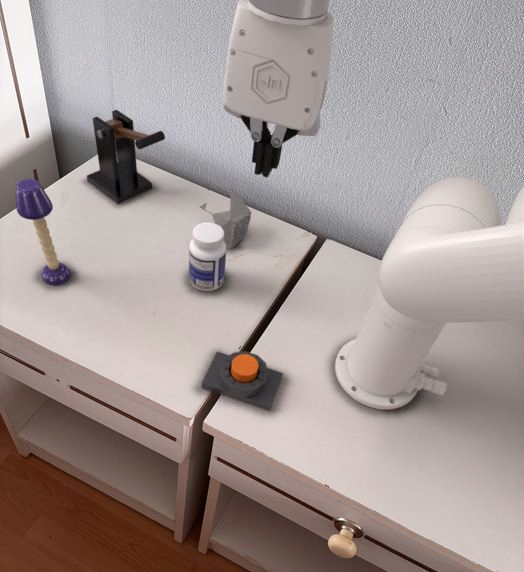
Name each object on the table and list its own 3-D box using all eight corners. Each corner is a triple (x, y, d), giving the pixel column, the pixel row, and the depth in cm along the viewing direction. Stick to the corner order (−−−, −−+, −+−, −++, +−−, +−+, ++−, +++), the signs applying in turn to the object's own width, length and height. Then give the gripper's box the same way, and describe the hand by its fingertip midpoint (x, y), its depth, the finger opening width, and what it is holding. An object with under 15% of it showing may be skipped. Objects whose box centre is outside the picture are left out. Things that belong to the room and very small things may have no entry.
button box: (282, 376, 74) (285, 363, 71) (269, 412, 70) (272, 400, 67) (217, 354, 75) (218, 342, 72) (200, 389, 71) (201, 377, 68)
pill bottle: (210, 263, 86) (213, 215, 79) (231, 284, 84) (235, 236, 76) (181, 276, 84) (181, 227, 76) (201, 297, 81) (203, 249, 74)
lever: (166, 143, 84) (163, 128, 83) (142, 153, 82) (138, 138, 80) (122, 130, 91) (119, 116, 89) (99, 139, 88) (95, 125, 87)
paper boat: (231, 259, 86) (182, 231, 85) (228, 266, 92) (183, 241, 91) (264, 198, 87) (216, 170, 86) (260, 209, 93) (215, 183, 92)
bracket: (152, 188, 97) (148, 123, 87) (118, 204, 93) (110, 138, 83) (121, 166, 100) (115, 101, 90) (87, 181, 96) (76, 114, 86)
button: (260, 366, 71) (261, 358, 70) (252, 386, 69) (253, 379, 68) (235, 358, 72) (236, 350, 70) (227, 378, 69) (228, 370, 68)
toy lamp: (51, 291, 78) (24, 199, 65) (31, 276, 80) (1, 183, 67) (76, 275, 81) (55, 184, 68) (56, 261, 82) (32, 169, 69)
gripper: (197, -17, 45) (193, 169, 59) (361, 25, 44) (317, 205, 58) (226, -39, 50) (216, 138, 64) (375, -2, 48) (331, 171, 63)
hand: (264, 169), depth 61 cm, fingers closed
